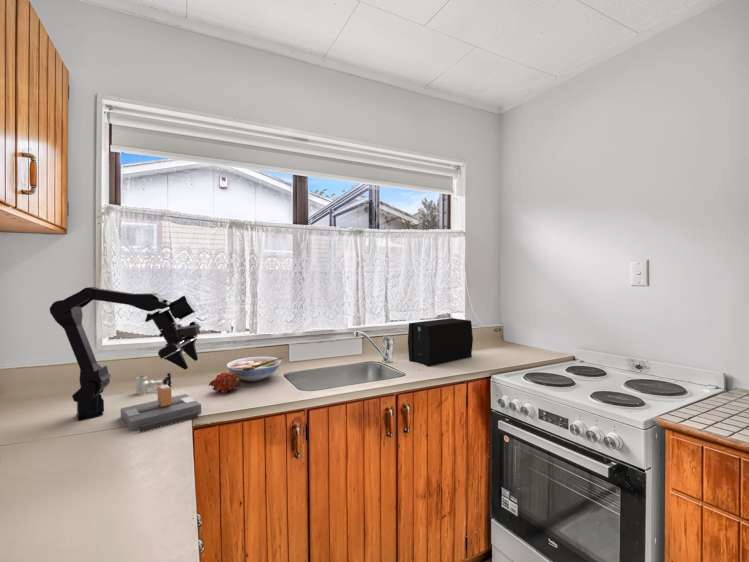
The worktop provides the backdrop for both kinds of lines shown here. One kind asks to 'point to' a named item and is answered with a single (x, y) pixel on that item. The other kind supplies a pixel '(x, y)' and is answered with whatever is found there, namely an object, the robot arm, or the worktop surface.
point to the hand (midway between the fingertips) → (191, 364)
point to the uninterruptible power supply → (440, 341)
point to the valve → (149, 383)
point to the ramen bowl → (254, 367)
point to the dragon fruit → (226, 382)
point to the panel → (158, 411)
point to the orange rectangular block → (164, 395)
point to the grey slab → (168, 421)
